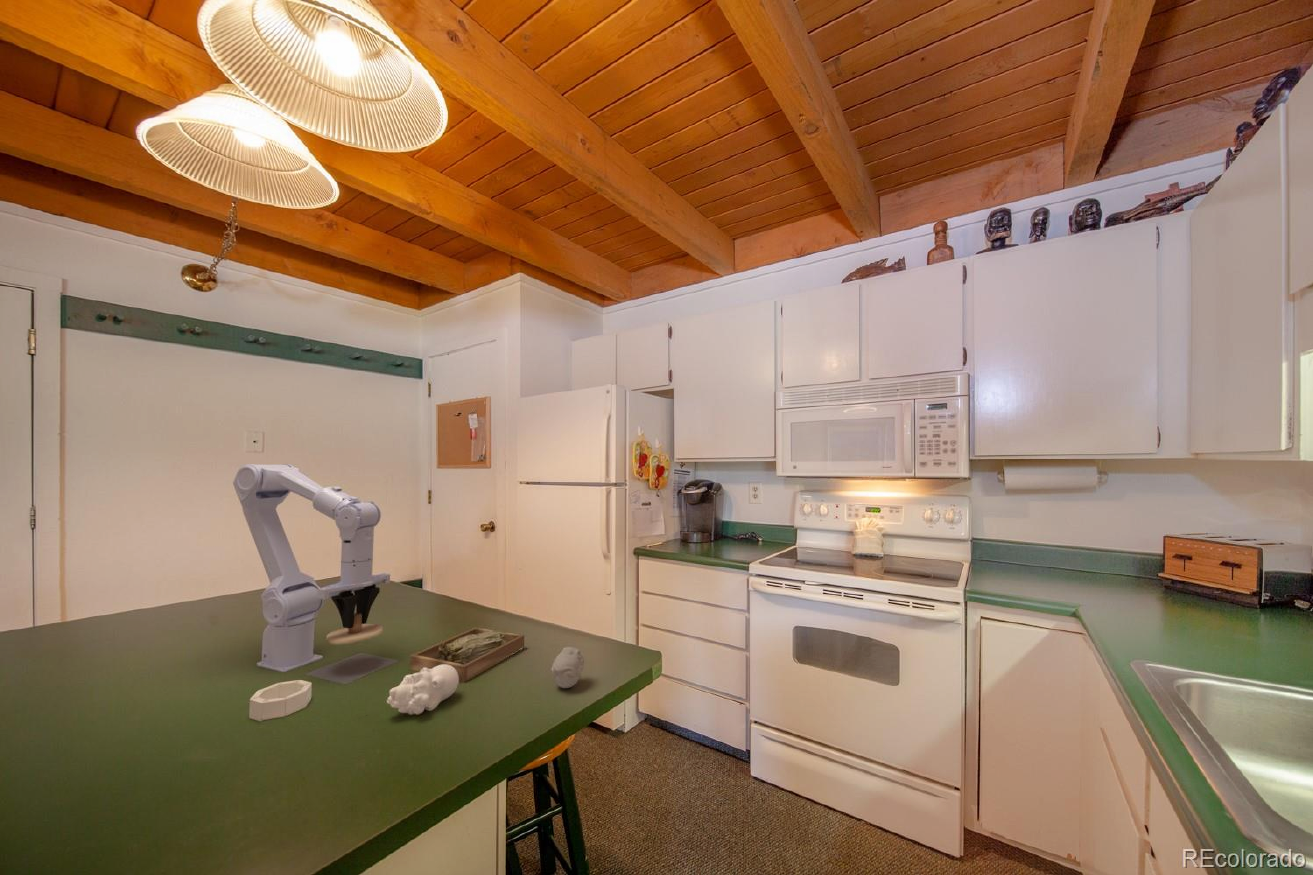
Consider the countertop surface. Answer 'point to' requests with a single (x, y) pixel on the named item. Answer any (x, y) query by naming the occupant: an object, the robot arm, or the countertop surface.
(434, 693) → the figurine
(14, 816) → the countertop surface
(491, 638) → the dried leaf bundle
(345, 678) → the mat
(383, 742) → the countertop surface
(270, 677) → the countertop surface
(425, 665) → the frame
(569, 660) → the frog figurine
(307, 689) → the bowl
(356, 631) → the lid
